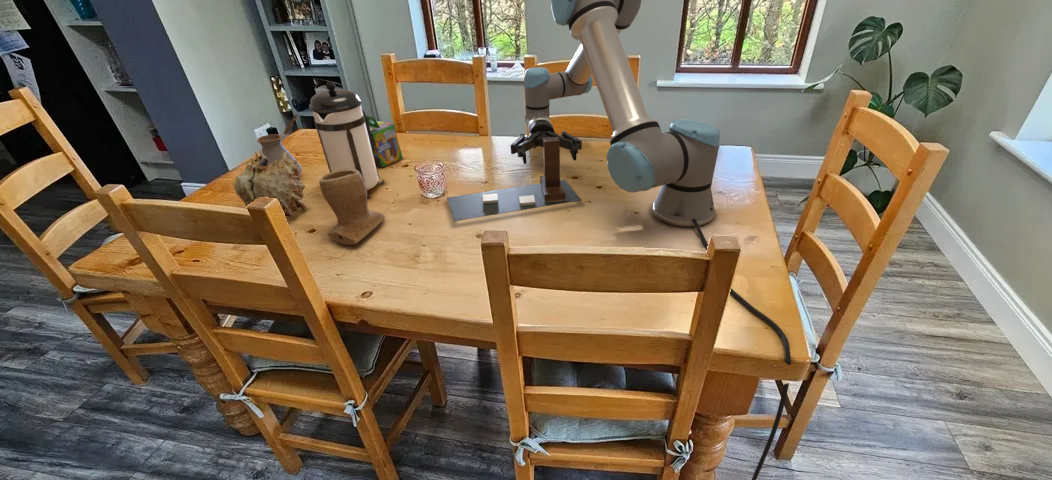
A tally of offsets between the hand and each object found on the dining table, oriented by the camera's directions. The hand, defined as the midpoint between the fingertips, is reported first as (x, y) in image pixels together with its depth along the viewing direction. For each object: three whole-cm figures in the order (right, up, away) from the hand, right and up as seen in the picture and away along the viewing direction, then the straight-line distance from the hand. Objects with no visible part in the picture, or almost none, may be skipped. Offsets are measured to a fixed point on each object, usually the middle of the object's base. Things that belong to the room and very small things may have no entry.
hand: (550, 157), depth 131 cm
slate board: (-10, -12, +1) cm, 16 cm away
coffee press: (-56, -6, +11) cm, 57 cm away
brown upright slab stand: (+1, -9, +3) cm, 9 cm away
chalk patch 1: (-16, -11, 0) cm, 20 cm away
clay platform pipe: (-49, -21, -9) cm, 54 cm away
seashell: (-72, -16, -1) cm, 73 cm away
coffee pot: (-80, 0, +21) cm, 83 cm away
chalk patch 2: (-6, -12, -2) cm, 14 cm away
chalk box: (-55, +6, +28) cm, 61 cm away
